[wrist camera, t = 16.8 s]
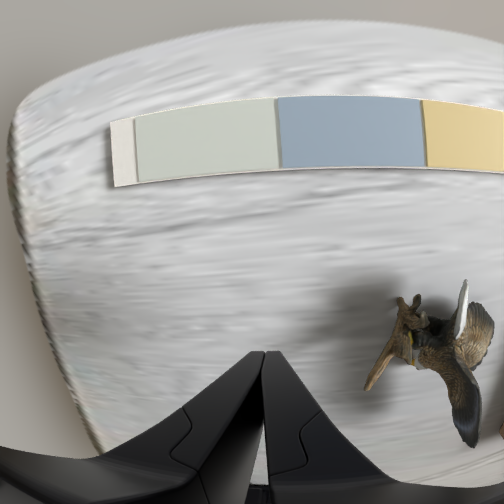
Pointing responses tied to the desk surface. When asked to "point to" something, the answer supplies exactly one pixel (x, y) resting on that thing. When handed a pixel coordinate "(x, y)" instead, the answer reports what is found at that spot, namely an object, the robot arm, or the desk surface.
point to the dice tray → (502, 431)
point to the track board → (306, 137)
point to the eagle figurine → (444, 354)
